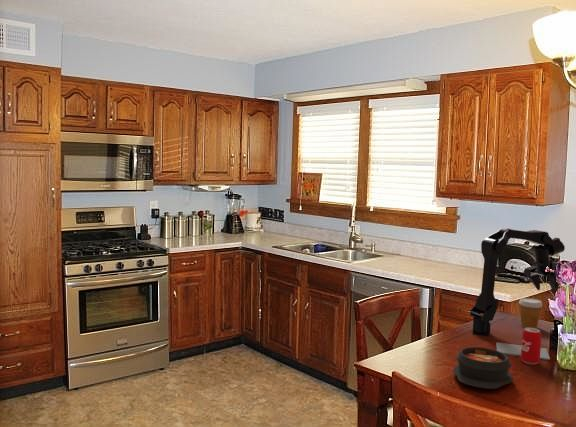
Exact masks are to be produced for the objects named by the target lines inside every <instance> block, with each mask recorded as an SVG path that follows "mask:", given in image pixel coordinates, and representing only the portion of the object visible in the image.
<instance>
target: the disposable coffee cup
mask: <svg viewBox="0 0 576 427" xmlns="http://www.w3.org/2000/svg"><path fill="white" fill-rule="evenodd" d="M518 303H519V310H520V311H519V312H520V323H521V324H520V325H521V327H522V328H523V329H524V328H527V327H531V328H536V329H538V325H539V324H538V323H539V319H540V315H541V310H542V306H543V302H542V300H540V299H537V298H530V297H522V298H520V300H519V301H518Z"/></svg>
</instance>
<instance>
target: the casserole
mask: <svg viewBox="0 0 576 427" xmlns="http://www.w3.org/2000/svg"><path fill="white" fill-rule="evenodd" d="M508 356H509V355H506V354H504V353H501V352H499V351H497V349H492V348H487V347H480V346H478V347H477V346H471V347H470V346H469V347H464V348H462V349H461V350H459V352H458V354H457V355H456V357H455V359H456V360H457V363H458V364H456V365H455V366H454V367H453V368H452V371H453V373H454V375H455V376H456V377H457V380H458V381H459V382H460V383H462V384H464V385H468V386H470V387H473V388H474V387H475V388H479V389H486V390H487V389H488V390H496V389H498V388H501V387H502V386H505V385H507V384H510V383H512V382H513V381H514V377H513V375H512V374H511V372H509V370H510V368H511V367H512V362H510V359H509V357H508Z"/></svg>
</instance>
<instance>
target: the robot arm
mask: <svg viewBox="0 0 576 427" xmlns="http://www.w3.org/2000/svg"><path fill="white" fill-rule="evenodd" d="M510 239H516V240H524V241H527V242H529V243H532V246H531V247H530V249H529V252H533V254H534V260H535V261H533V265H530V266H528V267H525V268H524V269H523V275H525V276H526V277H527V278H528V279H529V280H530V281H531V283H532V284H533V286H534V287H535V288H536V290H537V291H541V281H540V277H541V276H543V277H547V278H548V280H549V282H548V283H549V286H550V288H551V291H552V293H553V296H556V295H555V293H556V291H557V289H558V290H559V287H560V284H558V283H557V282H556V275H555V273H556V272H545V269H546V267H547V266H548V267H549V268H550V269H552V270H555V267H556V265H557V264H558V263H559V262H556V261H553V260H552V259H551V256H556V255H558V254H561V253H563V252H564V251H565V249H566V246H565V244H564V243H563V242H562V240H561V239H560V238H559V237H553V238H552V237H551V236H550V234H549V232H547V231H543V230H538V229H534V230H527V231H525V230H516V229H513V228H512V229H511V228H506V227H501V228H499V229H498V230H497V231H495V232H493V233H491V234H489V235H488V236H487V237H485V238H484V239H483V240H482V241H481V244H480V245H481V247H480V248H481V249H480V250H481V254H482V257H483V268H482V279H481V289H480V293H479V294H478V296H477V298H476V302H475V304H474V305H473V307H472V308H471V309H470V310H469V315H470V317H472V318H473V319H472V320H473V321H472V330H471V331H472V334H474V335H483V336H490V334H491V321H494V318H495V315H496V313H497V310H499V306H498V305H499V298H495V294H494V293H495V283H496V272H497V263H498V260H499V258H501V256H502V253H503V249H504V248H505V247H506V246H507V245H508V243H509V241H510ZM534 244H536V245H534ZM555 271H556V270H555ZM557 292H558V291H557Z"/></svg>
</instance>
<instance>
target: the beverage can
mask: <svg viewBox="0 0 576 427" xmlns="http://www.w3.org/2000/svg"><path fill="white" fill-rule="evenodd" d="M521 346H522V347H521V357H520V360H521V361H522V362H523V363H524V364H527V365H537V364H540V361H541V359H540V350H541V348H542V333H541V330H540V329H538V328H537V329H536V328H531V327H527V328H523V330H522V335H521Z"/></svg>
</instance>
